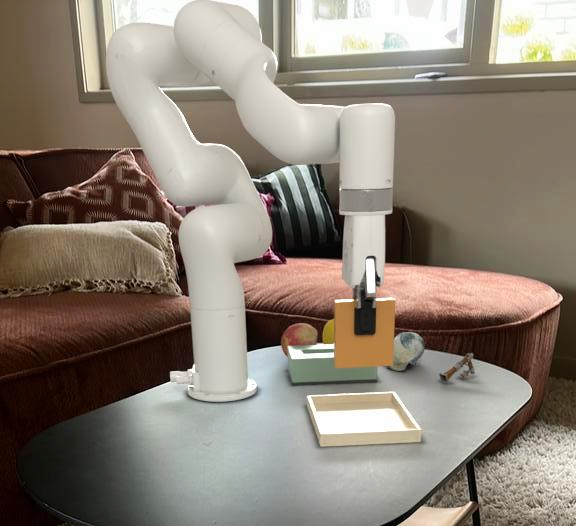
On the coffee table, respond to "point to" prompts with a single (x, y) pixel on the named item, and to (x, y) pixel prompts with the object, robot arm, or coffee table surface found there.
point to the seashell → (406, 350)
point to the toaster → (323, 367)
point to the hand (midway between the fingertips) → (363, 332)
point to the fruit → (298, 336)
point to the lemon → (328, 333)
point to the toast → (363, 336)
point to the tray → (362, 419)
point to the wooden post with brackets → (457, 366)
